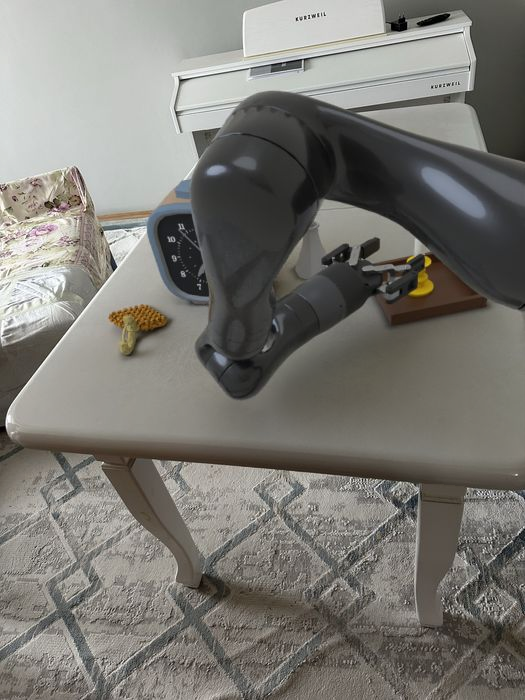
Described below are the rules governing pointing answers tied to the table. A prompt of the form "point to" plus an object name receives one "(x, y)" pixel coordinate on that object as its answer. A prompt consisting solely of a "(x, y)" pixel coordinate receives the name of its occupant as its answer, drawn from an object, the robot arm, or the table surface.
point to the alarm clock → (178, 246)
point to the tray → (431, 295)
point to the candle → (421, 273)
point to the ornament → (135, 323)
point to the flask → (310, 253)
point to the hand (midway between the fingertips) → (399, 250)
